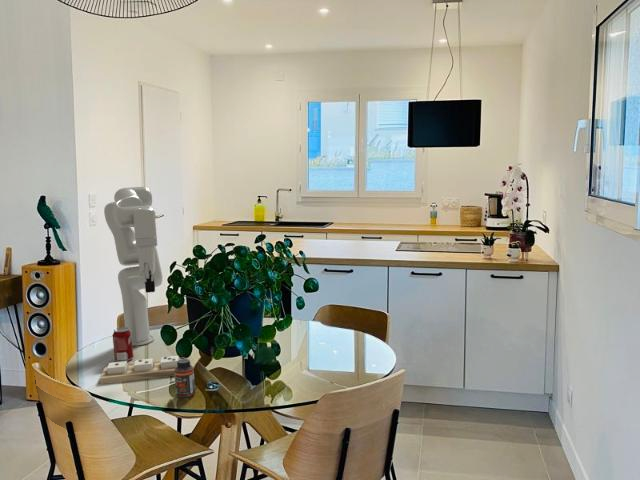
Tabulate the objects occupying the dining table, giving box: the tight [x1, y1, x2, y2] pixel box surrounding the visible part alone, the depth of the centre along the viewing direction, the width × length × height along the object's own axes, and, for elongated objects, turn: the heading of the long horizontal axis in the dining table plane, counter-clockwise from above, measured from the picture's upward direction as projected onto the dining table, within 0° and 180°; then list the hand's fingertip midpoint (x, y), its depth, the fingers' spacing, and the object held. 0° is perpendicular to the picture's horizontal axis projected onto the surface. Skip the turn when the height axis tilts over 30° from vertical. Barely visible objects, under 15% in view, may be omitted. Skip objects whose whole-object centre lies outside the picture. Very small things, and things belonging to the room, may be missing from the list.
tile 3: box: [160, 355, 180, 369], centre depth 218 cm, size 6×6×4 cm
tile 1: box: [107, 361, 128, 375], centre depth 215 cm, size 6×6×4 cm
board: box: [99, 357, 181, 385], centre depth 217 cm, size 13×28×2 cm, turn 101°
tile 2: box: [134, 357, 154, 372], centre depth 217 cm, size 6×6×4 cm
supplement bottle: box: [174, 358, 196, 399], centre depth 194 cm, size 6×6×11 cm
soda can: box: [112, 326, 134, 362], centre depth 232 cm, size 7×7×12 cm
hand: (150, 291), depth 224 cm, fingers closed
